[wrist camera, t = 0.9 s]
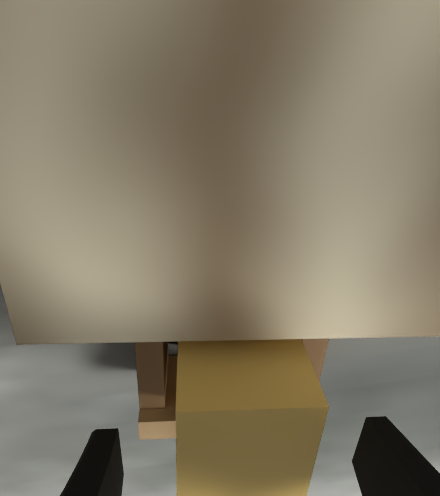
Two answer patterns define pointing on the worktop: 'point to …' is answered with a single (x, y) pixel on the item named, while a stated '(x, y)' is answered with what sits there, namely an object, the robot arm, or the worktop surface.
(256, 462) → the yellow block
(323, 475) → the worktop surface
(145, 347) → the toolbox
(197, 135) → the lid
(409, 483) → the robot arm
